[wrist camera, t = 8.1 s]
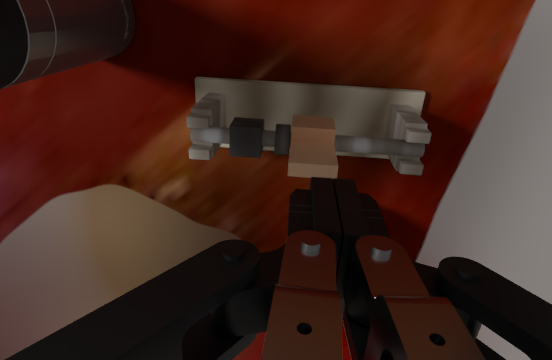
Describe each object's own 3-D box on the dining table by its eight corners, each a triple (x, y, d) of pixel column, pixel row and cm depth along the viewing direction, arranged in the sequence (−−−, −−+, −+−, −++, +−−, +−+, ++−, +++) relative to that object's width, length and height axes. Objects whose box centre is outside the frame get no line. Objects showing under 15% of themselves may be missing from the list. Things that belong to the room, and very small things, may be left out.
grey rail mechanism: (200, 142, 46) (175, 174, 37) (197, 76, 42) (169, 95, 34) (408, 157, 44) (432, 193, 36) (423, 90, 41) (453, 114, 32)
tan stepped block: (290, 151, 39) (286, 191, 31) (293, 114, 37) (289, 146, 29) (328, 154, 39) (334, 194, 31) (333, 117, 37) (340, 149, 29)
